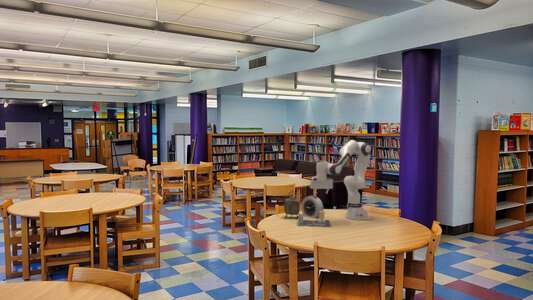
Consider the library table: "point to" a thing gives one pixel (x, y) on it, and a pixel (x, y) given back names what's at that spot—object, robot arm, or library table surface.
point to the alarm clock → (311, 206)
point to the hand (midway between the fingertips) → (321, 193)
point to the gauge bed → (309, 223)
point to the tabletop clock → (292, 205)
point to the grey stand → (320, 219)
